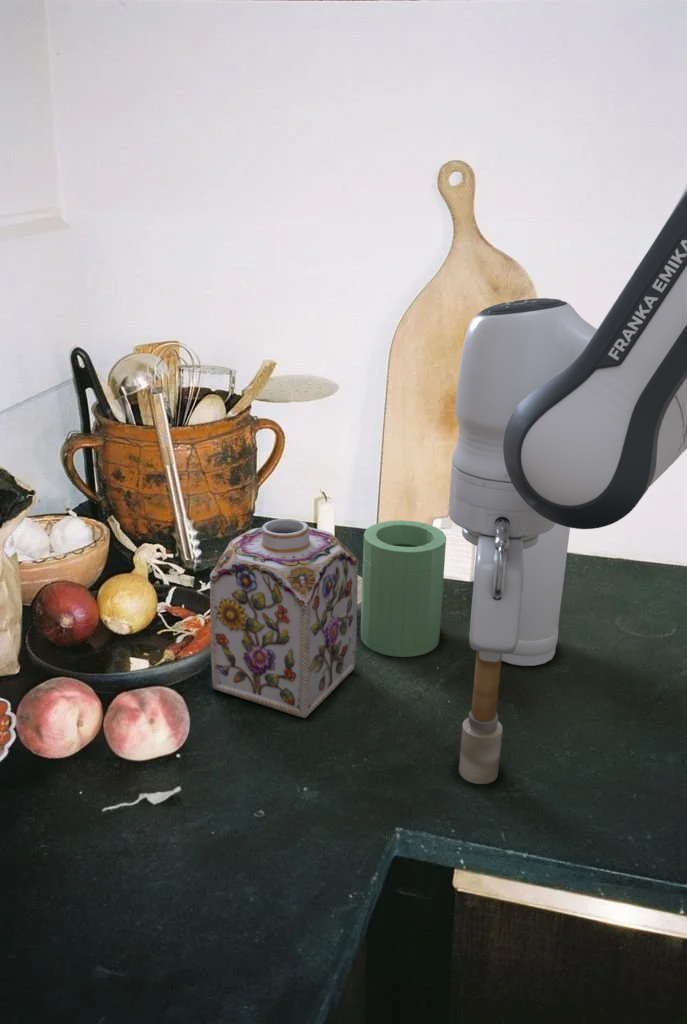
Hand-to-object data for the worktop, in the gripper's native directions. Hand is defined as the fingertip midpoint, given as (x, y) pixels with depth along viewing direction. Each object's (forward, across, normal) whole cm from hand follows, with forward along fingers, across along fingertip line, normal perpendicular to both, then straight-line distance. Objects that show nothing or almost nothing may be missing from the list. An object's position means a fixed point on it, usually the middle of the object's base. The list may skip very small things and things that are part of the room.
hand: (489, 647), depth 82 cm
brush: (+13, 0, 0) cm, 13 cm away
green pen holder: (+13, +24, +10) cm, 29 cm away
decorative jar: (+13, +12, +21) cm, 28 cm away
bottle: (+13, +24, -4) cm, 28 cm away
